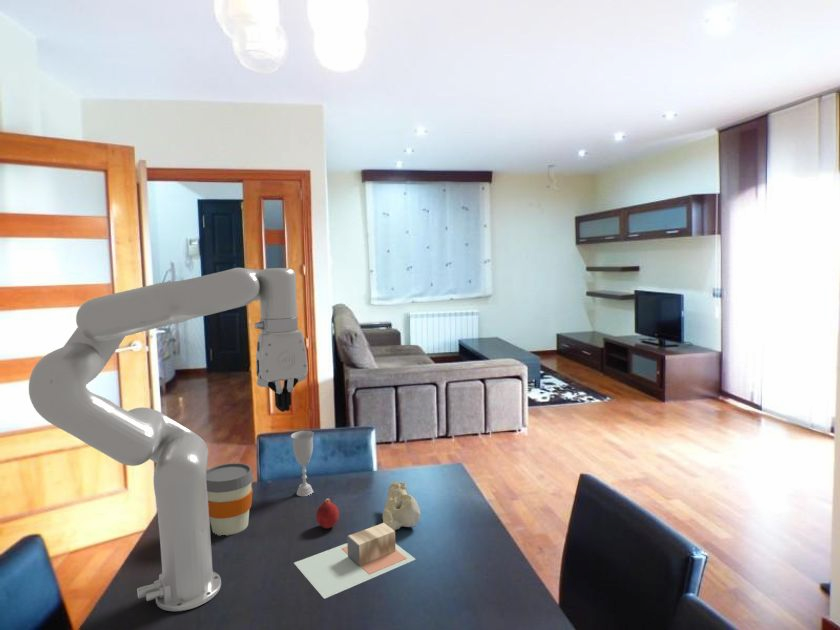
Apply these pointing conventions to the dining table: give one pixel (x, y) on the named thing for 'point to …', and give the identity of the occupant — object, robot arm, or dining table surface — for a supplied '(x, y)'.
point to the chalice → (303, 457)
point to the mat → (346, 569)
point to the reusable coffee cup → (229, 497)
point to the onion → (327, 514)
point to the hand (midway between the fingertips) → (283, 409)
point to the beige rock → (400, 507)
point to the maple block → (371, 544)
